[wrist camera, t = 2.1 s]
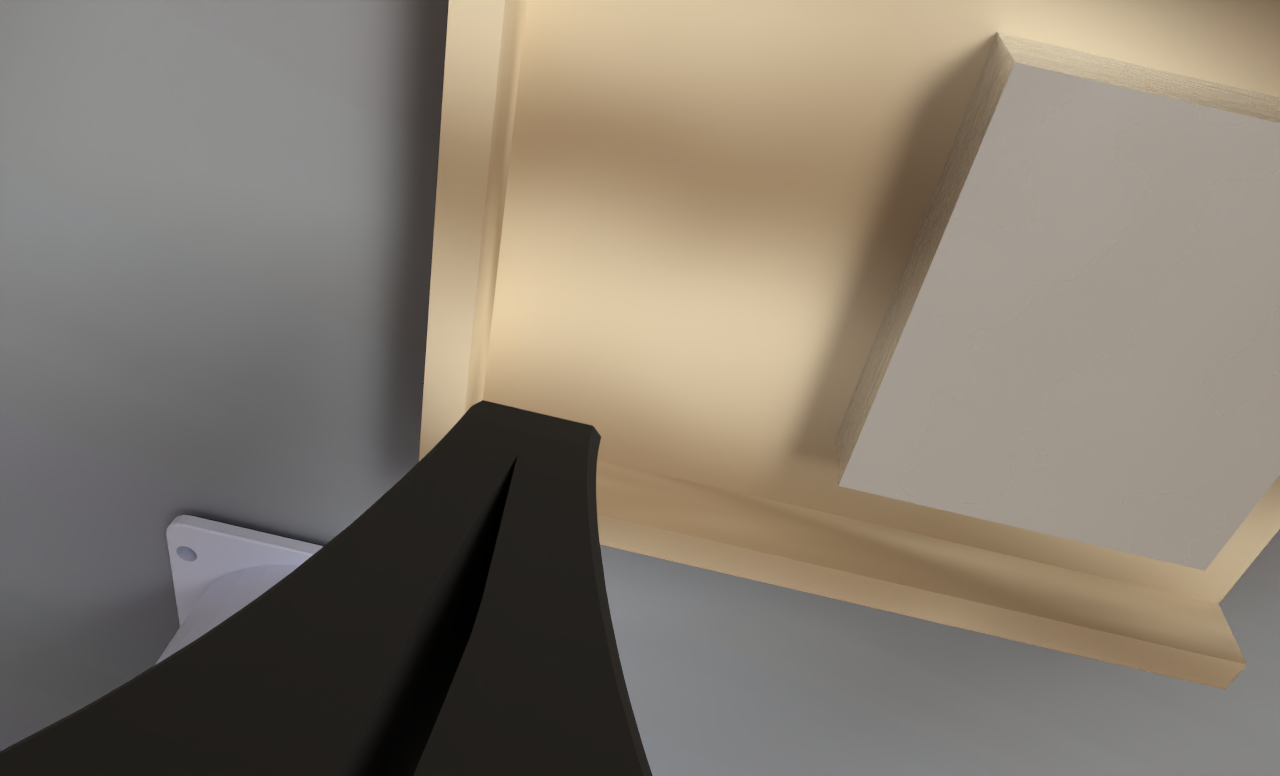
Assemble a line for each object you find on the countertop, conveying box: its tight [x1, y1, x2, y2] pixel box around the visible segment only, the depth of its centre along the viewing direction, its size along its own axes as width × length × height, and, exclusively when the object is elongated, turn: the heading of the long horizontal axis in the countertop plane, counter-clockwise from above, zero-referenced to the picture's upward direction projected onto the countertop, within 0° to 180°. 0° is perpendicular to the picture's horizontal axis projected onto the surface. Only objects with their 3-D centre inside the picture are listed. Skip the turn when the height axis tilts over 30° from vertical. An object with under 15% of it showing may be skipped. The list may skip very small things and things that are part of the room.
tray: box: [419, 0, 1280, 689], centre depth 16 cm, size 14×17×2 cm
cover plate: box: [836, 32, 1280, 571], centre depth 16 cm, size 8×7×2 cm
